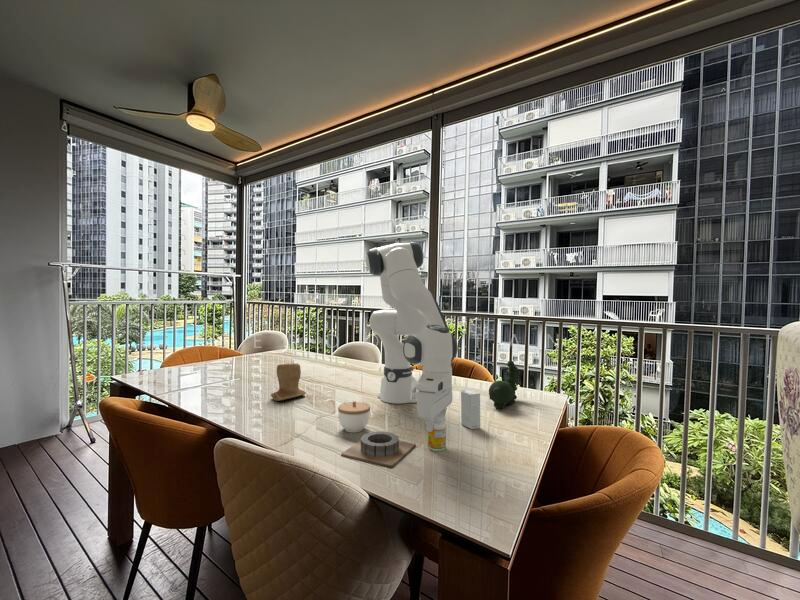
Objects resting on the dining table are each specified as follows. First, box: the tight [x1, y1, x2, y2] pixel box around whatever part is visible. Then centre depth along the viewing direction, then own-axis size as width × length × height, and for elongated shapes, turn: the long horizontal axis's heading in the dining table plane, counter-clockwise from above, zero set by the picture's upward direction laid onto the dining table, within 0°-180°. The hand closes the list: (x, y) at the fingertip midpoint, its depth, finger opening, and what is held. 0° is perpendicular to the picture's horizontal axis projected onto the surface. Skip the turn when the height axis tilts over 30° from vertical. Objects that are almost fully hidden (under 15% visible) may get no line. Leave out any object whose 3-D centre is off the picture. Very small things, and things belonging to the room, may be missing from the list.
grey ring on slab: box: [340, 430, 417, 469], centre depth 109 cm, size 16×16×4 cm
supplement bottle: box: [427, 413, 447, 452], centre depth 112 cm, size 5×5×10 cm
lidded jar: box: [337, 400, 371, 433], centre depth 126 cm, size 11×11×9 cm
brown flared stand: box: [270, 363, 307, 402], centre depth 162 cm, size 15×12×15 cm
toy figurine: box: [488, 360, 519, 410], centre depth 157 cm, size 9×19×25 cm
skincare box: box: [460, 389, 481, 430], centre depth 131 cm, size 6×4×12 cm
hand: (435, 426), depth 111 cm, fingers open, 8 cm apart
